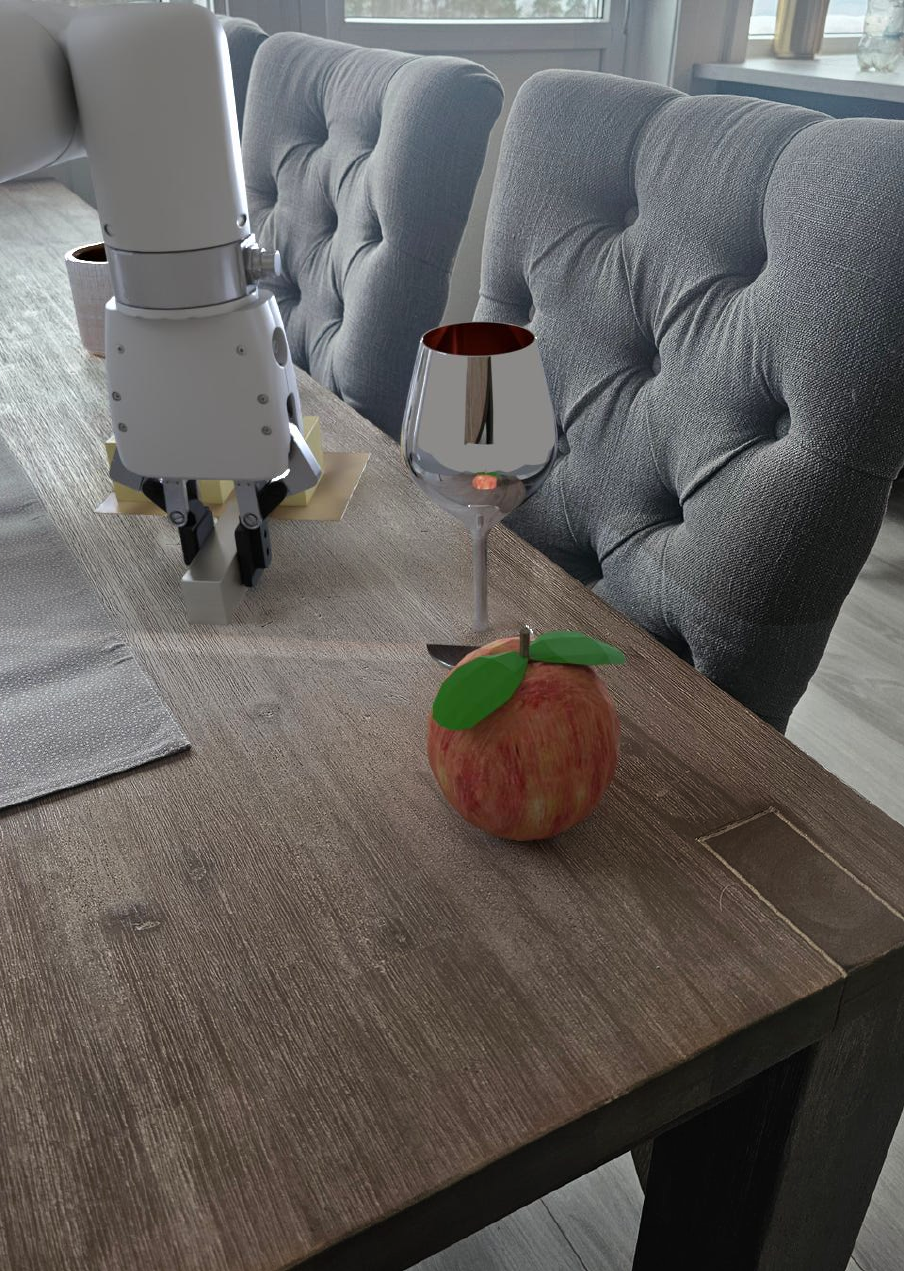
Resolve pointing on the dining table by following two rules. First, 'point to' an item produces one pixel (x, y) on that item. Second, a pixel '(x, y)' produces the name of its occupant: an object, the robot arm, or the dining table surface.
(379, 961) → the dining table surface
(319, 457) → the butter slice
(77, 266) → the planter
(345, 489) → the board
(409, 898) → the dining table surface
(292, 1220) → the dining table surface
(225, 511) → the knife
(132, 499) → the butter block
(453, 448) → the wineglass
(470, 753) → the fruit
